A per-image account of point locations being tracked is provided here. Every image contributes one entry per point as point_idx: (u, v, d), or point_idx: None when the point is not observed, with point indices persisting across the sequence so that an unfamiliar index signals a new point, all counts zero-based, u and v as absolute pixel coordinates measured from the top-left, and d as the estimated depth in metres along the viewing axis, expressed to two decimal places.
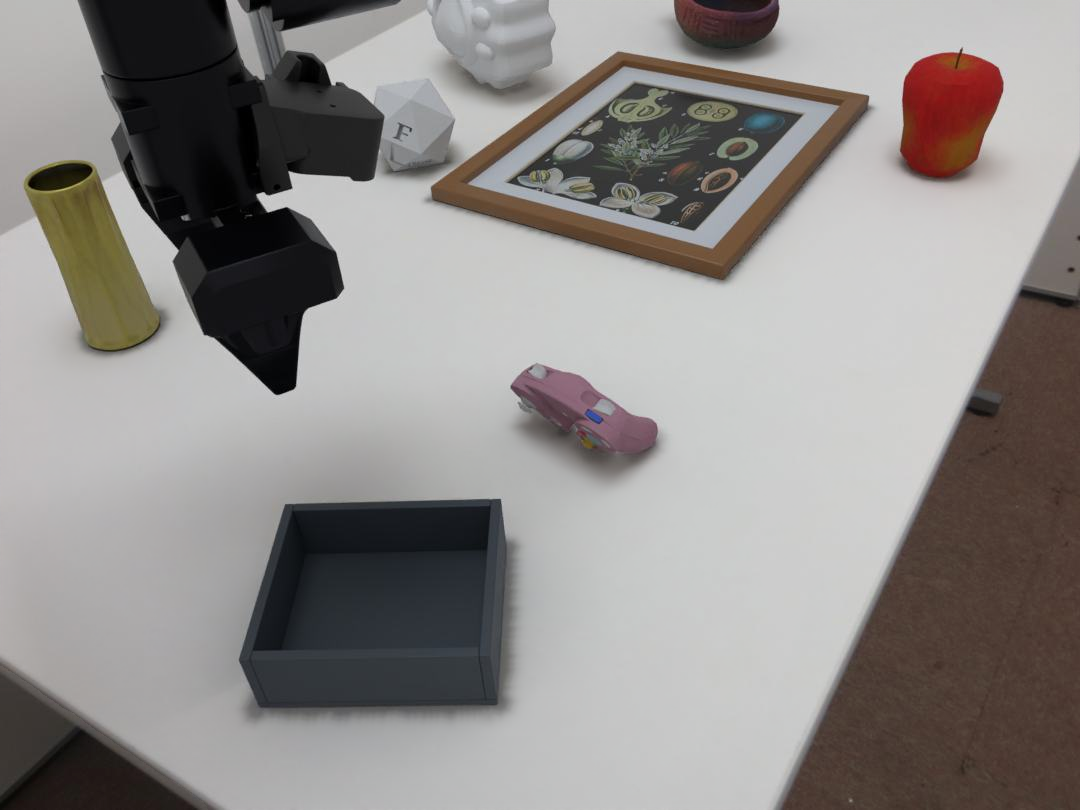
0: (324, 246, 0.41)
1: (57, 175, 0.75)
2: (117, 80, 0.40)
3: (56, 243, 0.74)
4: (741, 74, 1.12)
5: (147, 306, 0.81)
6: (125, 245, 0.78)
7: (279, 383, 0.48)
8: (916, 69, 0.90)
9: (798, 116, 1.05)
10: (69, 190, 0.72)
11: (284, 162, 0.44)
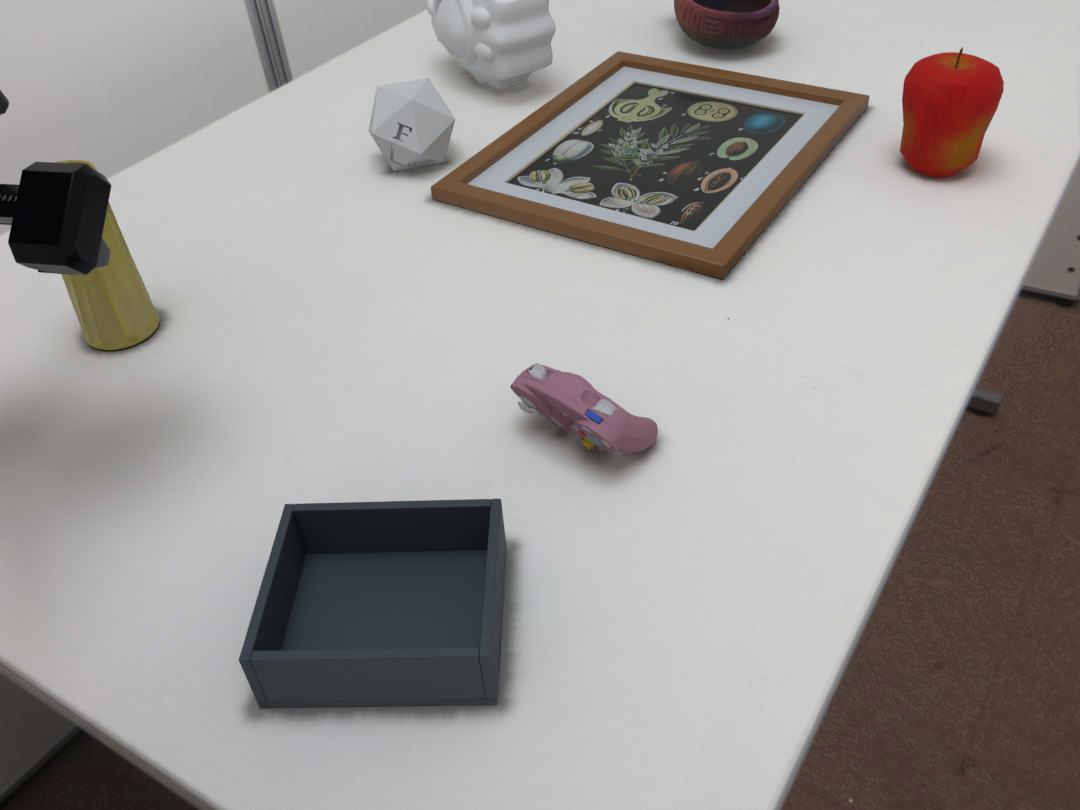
0: (79, 168, 0.57)
1: None
2: None
3: None
4: (741, 74, 1.12)
5: (147, 306, 0.81)
6: (125, 245, 0.78)
7: (104, 257, 0.65)
8: (916, 69, 0.90)
9: (798, 116, 1.05)
10: None
11: None
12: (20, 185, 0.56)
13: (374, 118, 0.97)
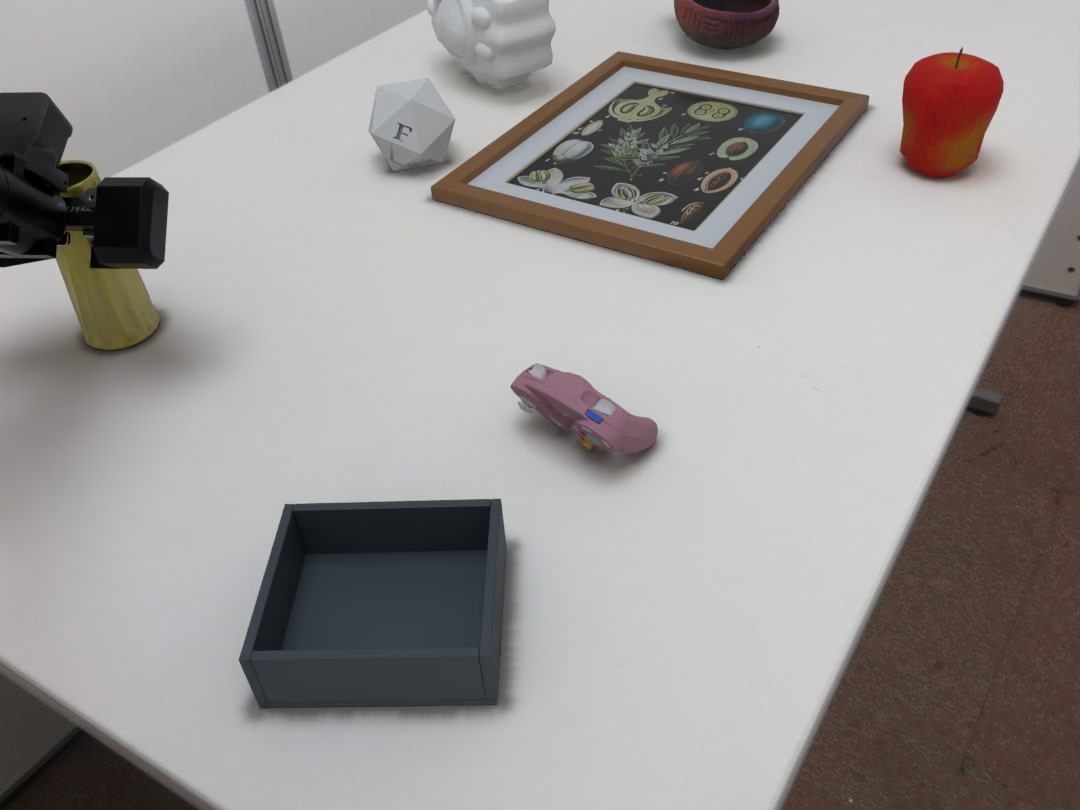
0: (145, 181, 0.69)
1: None
2: None
3: None
4: (741, 74, 1.12)
5: (147, 306, 0.81)
6: None
7: None
8: (916, 69, 0.90)
9: (798, 116, 1.05)
10: (69, 190, 0.72)
11: (56, 170, 0.68)
12: (97, 198, 0.68)
13: (374, 118, 0.97)
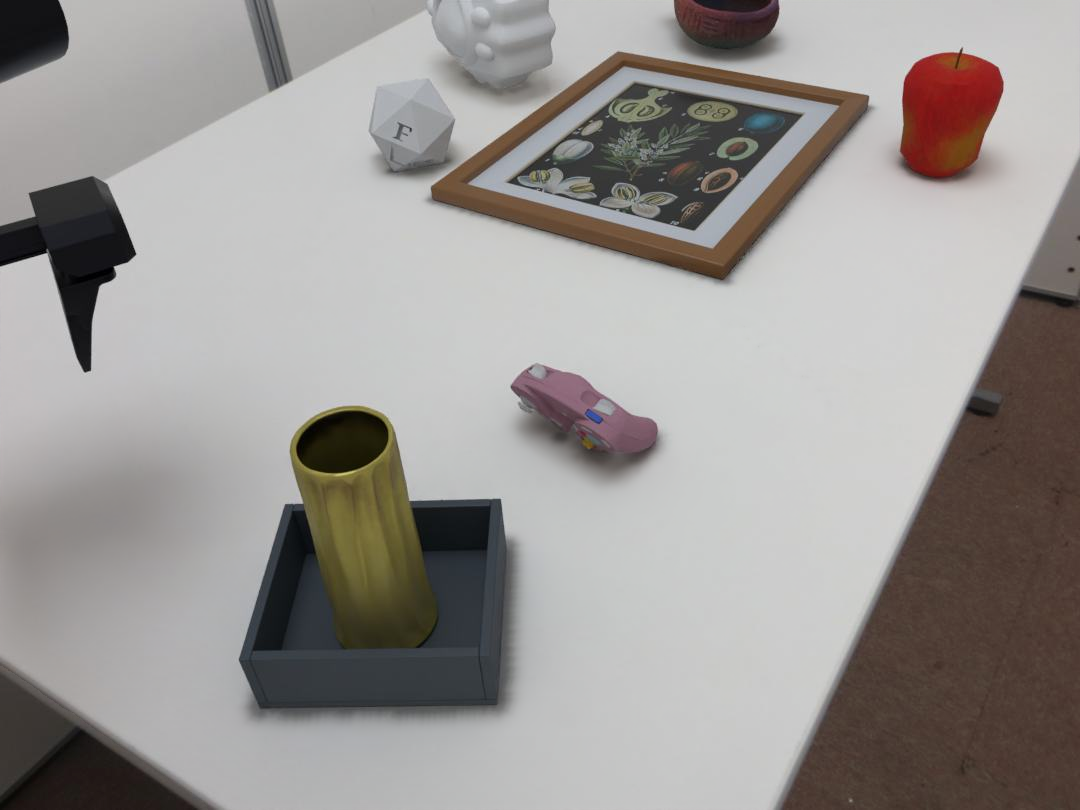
0: None
1: (378, 427, 0.50)
2: None
3: None
4: (741, 74, 1.12)
5: (391, 631, 0.54)
6: (385, 560, 0.51)
7: None
8: (916, 69, 0.90)
9: (798, 116, 1.05)
10: (304, 473, 0.47)
11: None
12: (32, 199, 0.51)
13: (374, 118, 0.97)
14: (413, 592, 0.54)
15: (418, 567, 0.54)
